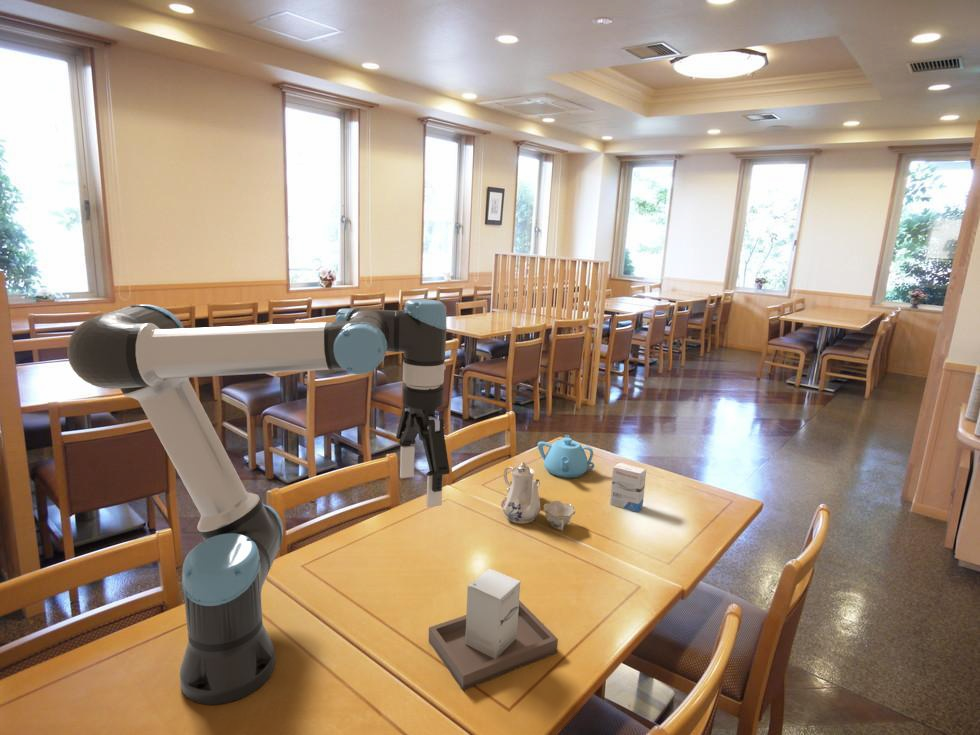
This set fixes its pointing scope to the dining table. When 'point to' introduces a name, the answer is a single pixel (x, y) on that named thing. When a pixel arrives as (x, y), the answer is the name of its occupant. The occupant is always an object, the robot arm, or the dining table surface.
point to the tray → (480, 667)
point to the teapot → (566, 458)
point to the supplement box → (492, 613)
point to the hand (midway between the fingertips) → (419, 490)
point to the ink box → (628, 487)
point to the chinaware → (531, 500)
